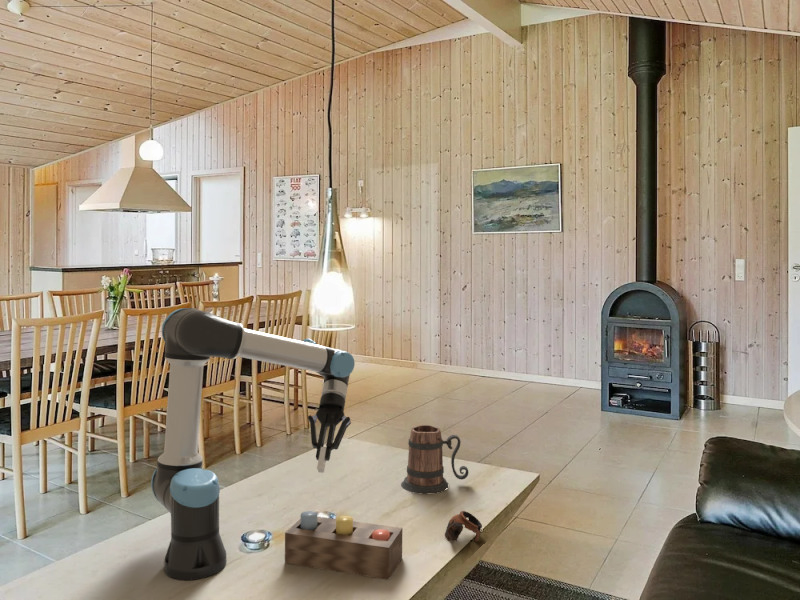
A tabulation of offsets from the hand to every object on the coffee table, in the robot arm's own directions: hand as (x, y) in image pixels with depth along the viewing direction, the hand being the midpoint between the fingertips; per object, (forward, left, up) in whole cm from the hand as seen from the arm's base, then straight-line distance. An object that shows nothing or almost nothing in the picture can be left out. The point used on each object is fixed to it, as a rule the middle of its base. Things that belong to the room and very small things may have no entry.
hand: (320, 470), depth 175 cm
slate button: (+1, -10, -13) cm, 17 cm away
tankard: (+21, +51, -20) cm, 58 cm away
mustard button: (+11, -10, -13) cm, 20 cm away
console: (+11, -10, -19) cm, 25 cm away
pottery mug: (+38, +11, -20) cm, 44 cm away
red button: (+21, -10, -15) cm, 28 cm away
